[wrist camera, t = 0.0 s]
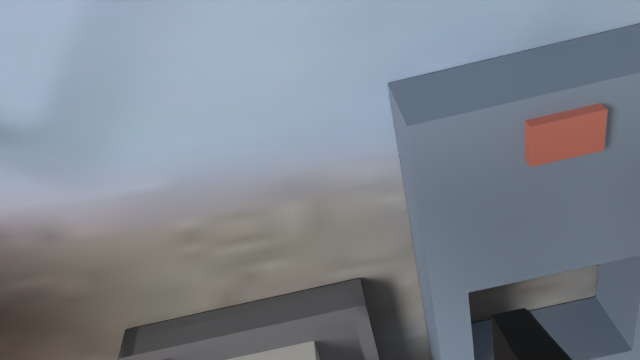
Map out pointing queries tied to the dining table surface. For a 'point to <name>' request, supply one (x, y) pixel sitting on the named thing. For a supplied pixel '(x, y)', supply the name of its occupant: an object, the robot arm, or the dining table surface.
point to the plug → (286, 353)
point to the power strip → (527, 189)
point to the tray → (264, 328)
